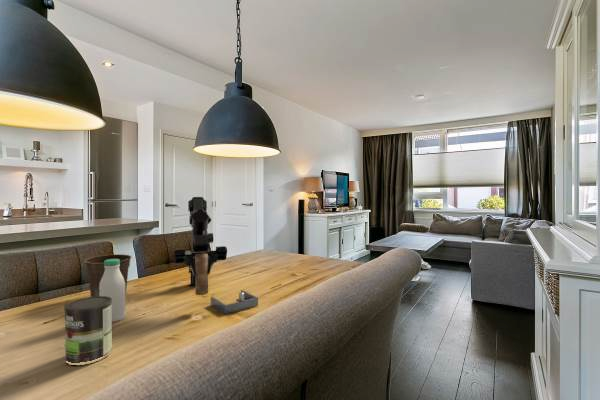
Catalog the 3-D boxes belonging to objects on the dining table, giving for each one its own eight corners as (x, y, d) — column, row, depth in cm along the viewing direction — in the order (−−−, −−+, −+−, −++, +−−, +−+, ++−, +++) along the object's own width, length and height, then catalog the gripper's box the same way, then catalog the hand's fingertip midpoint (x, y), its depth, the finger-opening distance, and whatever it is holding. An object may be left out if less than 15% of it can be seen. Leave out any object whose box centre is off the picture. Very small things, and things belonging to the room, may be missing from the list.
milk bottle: (131, 315, 108) (130, 258, 108) (111, 324, 101) (110, 263, 101) (114, 313, 111) (113, 256, 110) (93, 321, 104) (92, 261, 103)
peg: (193, 294, 111) (192, 255, 111) (199, 290, 116) (198, 253, 115) (204, 295, 111) (204, 255, 110) (210, 291, 115) (210, 253, 114)
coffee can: (83, 370, 75) (82, 311, 75) (55, 361, 79) (54, 306, 79) (121, 350, 85) (121, 298, 85) (95, 343, 89) (94, 294, 88)
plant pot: (138, 297, 128) (137, 258, 127) (91, 308, 116) (90, 264, 115) (124, 289, 139) (123, 252, 138) (80, 298, 127) (79, 258, 126)
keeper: (210, 305, 119) (210, 289, 118) (242, 297, 127) (242, 282, 127) (225, 314, 109) (225, 297, 109) (258, 305, 118) (258, 290, 118)
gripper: (173, 227, 113) (172, 264, 103) (226, 225, 119) (230, 259, 109) (174, 245, 120) (173, 281, 110) (224, 242, 127) (227, 276, 117)
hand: (201, 274), depth 112 cm, fingers closed on peg, 4 cm apart
